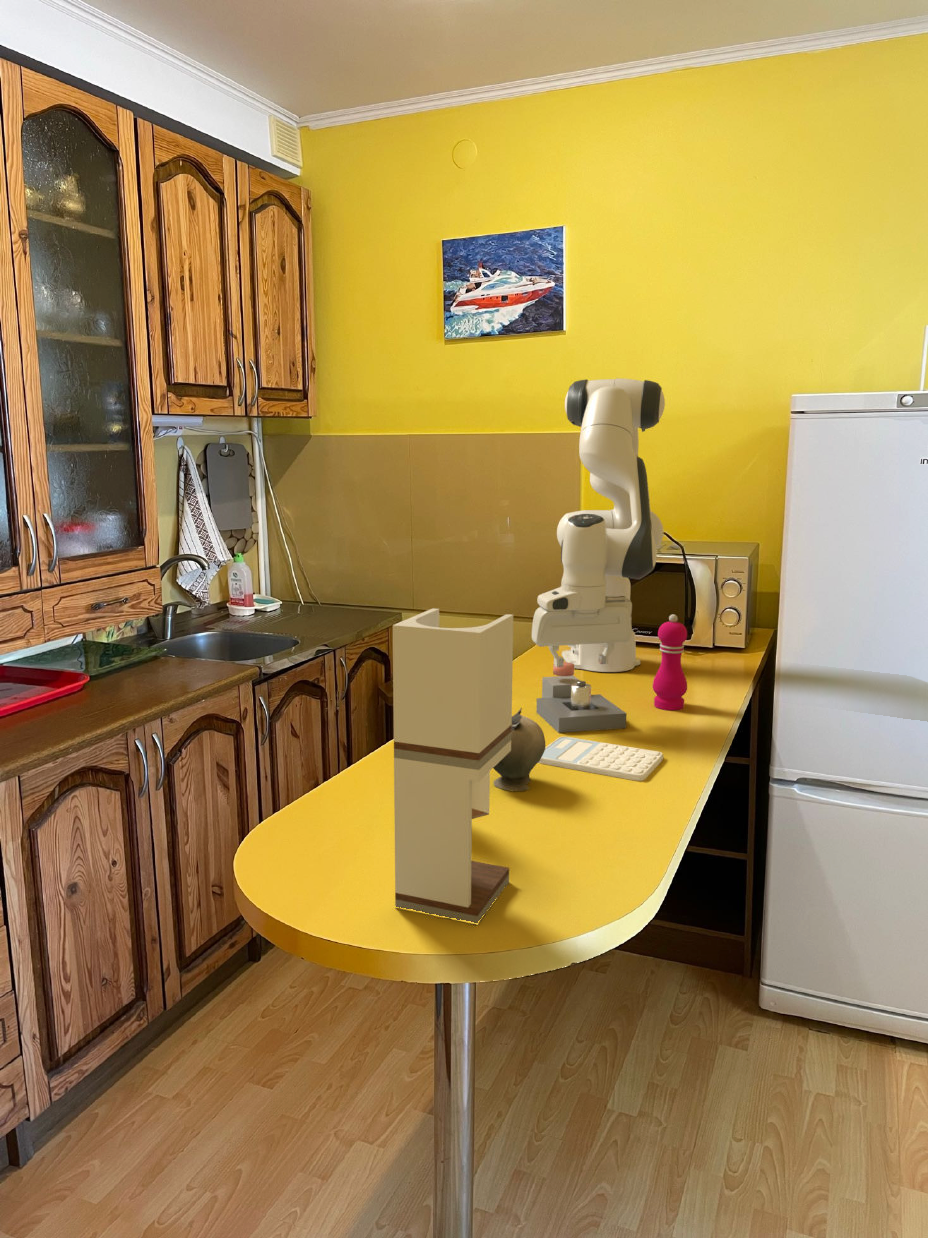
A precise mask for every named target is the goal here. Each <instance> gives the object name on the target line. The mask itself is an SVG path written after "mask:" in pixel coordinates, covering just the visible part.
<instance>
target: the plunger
mask: <svg viewBox="0 0 928 1238" xmlns="http://www.w3.org/2000/svg"><path fill="white" fill-rule="evenodd" d="M563 664H564V666H563V667H555V666H554V663H553V666H552V669H553V671H552V673H553V674H552V675H555V676H574V675H575V668H574V664H573V663H569V662H566V661H564V662H563Z"/></svg>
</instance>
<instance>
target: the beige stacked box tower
mask: <svg viewBox="0 0 928 1238" xmlns="http://www.w3.org/2000/svg"><path fill="white" fill-rule="evenodd" d="M513 648H514V614H510V613H509V614H507V613H506V614H504V615H502V616H501V617H499V618H497V619H495V620H493V621H491V622H489V623H487V624H484V625H479V626H472V627H440V608H431V609H427V610H426V611H424V612H421V613H419V614H416V615H413V616H411V617H409V618H407V619H406V618H405V619H404V620H402V621H399V622H398V623H397V622H396V623H395V624H393V625H392V670H393V671H392V678H393V679H392V683H393V684H392V689H393V691H392V692H393V696H392V697H393V698H392V699H393V702H392V703H393V708H392V709H393V779H394V780H393V786H394V787H393V792H394V793H393V797H394V799H393V801H394V802H393V803H394V887H395V888H394V892H395V894H394V895H395V897H394V899H395V901H394V903H395V904H394V906H396V907H399V908H400V907H401V908H406V909H413V910H416V911H422V912H425V913H429V914H436V915H439V916H445V917H449V918H456V919H457V920H460V919H461V920H466V921H471V922H474V923H478V921H479V920H480V919H481V918H482V916H483V915H484V914H485V913H486V912H487V910H488V909H489V908H490V906H491V905H492V903H493V902H494V901H495V899H496V898H497V897H498V896H499V897H500V895H501V894H502V893H501V892H503V891H504V890H505V889H504V887H505V888H506V887H507V886H508V885H509V883H510V867H507V866H503V865H497V864H491V863H486V862H480V861H474V860H472V836H473V834H472V833H473V832H472V824H473V823H472V822H473V821H472V820H475V819H478V818H481V817H484V816H485V817H486V816H489V815H490V789H491V787H490V785H491V784H490V783H491V782H490V781H491V779H490V778H491V775H490V773H491V771H492V770H493V769H494V768H493V767H495V766H496V765H497V764H498V763H499V762H500V761H501V760H502V759H503V758H504V757H505V756H506V755H507V754H508V753H509V752H510V751H511V726H512V716H513V661H514V660H513V659H514V657H513V653H514V649H513ZM506 885H507V886H506ZM503 889H504V890H503ZM502 890H503V891H502ZM500 893H501V894H500ZM499 894H500V895H499ZM499 897H498V898H499ZM498 898H497V899H498ZM497 899H496V900H497ZM495 902H496V901H495ZM495 902H494V903H495ZM492 906H493V905H492ZM492 906H491V907H492ZM490 909H491V908H490ZM490 909H489V910H490ZM489 910H488V911H489ZM487 913H488V912H487ZM487 913H486V914H487Z"/></svg>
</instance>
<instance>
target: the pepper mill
mask: <svg viewBox="0 0 928 1238" xmlns="http://www.w3.org/2000/svg"><path fill="white" fill-rule="evenodd" d="M668 619H669V621H666V622H663V623H661V625H660V626H659V628H658V631H657V637H658V639H659V640H660V644H659V651H660V652H661V662H660V666H659V668H658V670H657V672H656V674H655V676H654V678H653V681H652V690H653V692H654V693H655V694H656V695H655V696H654V699H653V706H654V707H655V708H656V709H660V710H664V711H678V710H679V711H680V710H682V709H684V707H685V698H684V697H683V696H684V695H686V693H687V691H688V682H687V678H686V676H685V674H684V671H683V667H682V654H683V653H684V651H685V650H684V647H685V645H684V644H683V643H684V642H685V641H686V640H687V638H688V630H687V627H686V626H685V625H684V624H683V623H681V622H678V620H679V619H678V616H677V615H676V614H670V615H669V616H668Z"/></svg>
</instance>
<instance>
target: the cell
mask: <svg viewBox="0 0 928 1238" xmlns="http://www.w3.org/2000/svg"><path fill="white" fill-rule="evenodd" d="M591 695H592V685H591V684H589V683H587V682H586V680H580V681H577V683H575V684H572V685H571V708H570V710H571V711H576V710H590V706H591Z"/></svg>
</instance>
